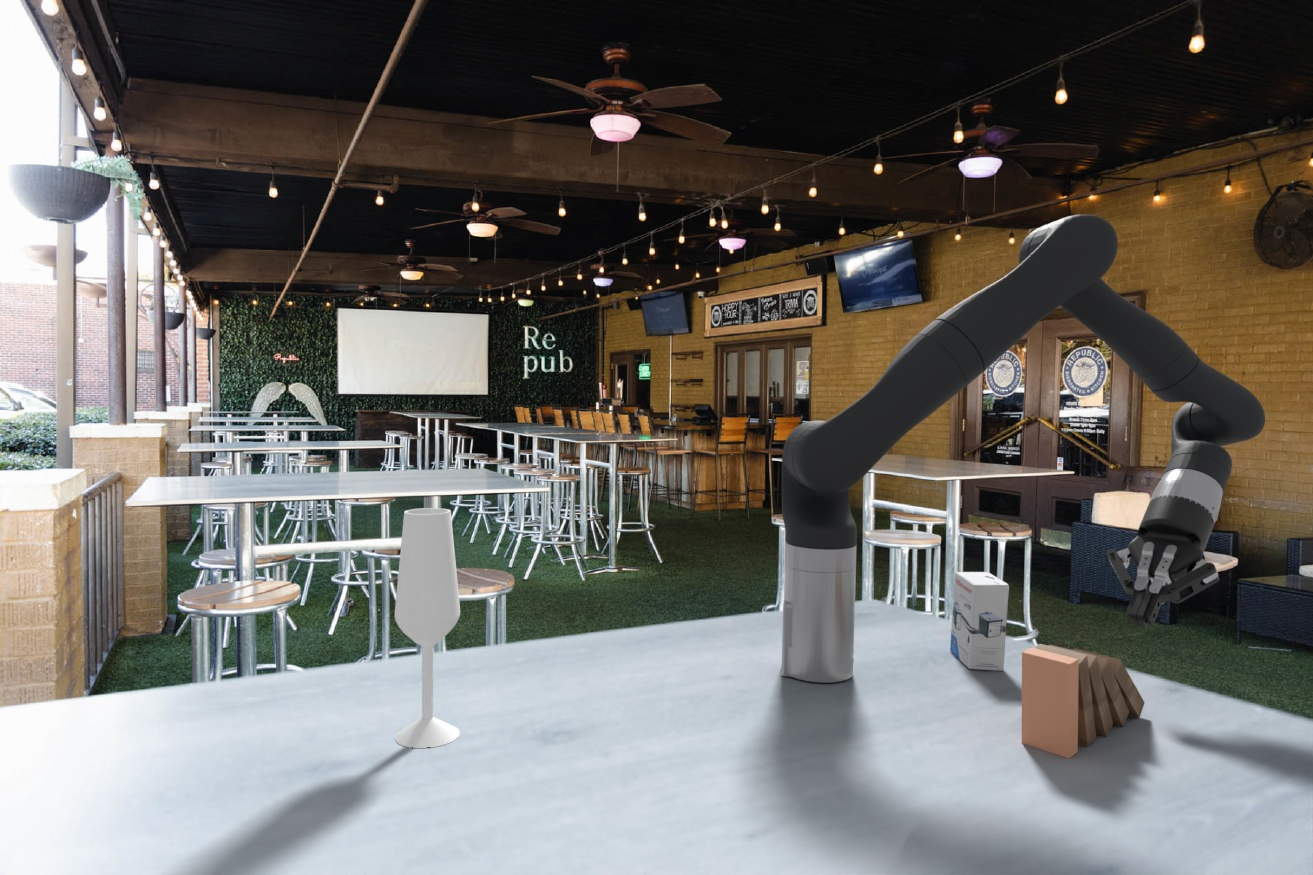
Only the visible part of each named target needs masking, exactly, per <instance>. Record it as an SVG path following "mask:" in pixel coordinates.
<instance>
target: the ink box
mask: <svg viewBox="0 0 1313 875" xmlns="http://www.w3.org/2000/svg"><path fill="white" fill-rule="evenodd" d="M953 577H954V580H953V596H952V597H953V598H952V614H951V615H952V616H951V630H950V632H951V634H950V652H951V653H953V655H954V656H955V657H957V659H958V660H960V662H962V663H963V665H965V667H966V668H968V669H969V670H981V671H982V670H983V671H1001V672H1002V671H1004V669H1005V668H1004V667H1005V653H1006V652H1005V651H1006V639H1007V637H1006V636H1007V634H1006V633H1007V621H1008V620H1007V619H1008V606H1009V593H1010V592H1009V591H1010V586H1009V583H1007V582H1005V581H1004V580H1001V579H1000V578H999V577H997V576H995V575H994V574H992V573H991V572H988V571H954V576H953Z"/></svg>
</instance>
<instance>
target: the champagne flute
mask: <svg viewBox="0 0 1313 875" xmlns="http://www.w3.org/2000/svg"><path fill="white" fill-rule="evenodd" d="M452 518H453V517H452V510H451V509H447V508H441V507H440V508H438V507H429V508H428V507H426V508H425V507H424V508H423V507H422V508H412V509H407V510H404V512H403V522H402V532H401V543H400V553H399V563H398V564H399V565H398V573H397V583H396V584H397V585H396V596H395V607H394V620H395V623H396V625H397V626H398V627H399V629H400V630H401V631H402V633H404V634H405V635H406V637H408V638H409V639H410V640H412V641H413V642H414V643H415V644H417V645H419V646H421V717H420V718H419V719H418V720H415V721H414V722H413V723H412V724H410V725H408V726H407V727H405V728H403V729H402V730H400V731H399V732H398V733H396V735H395V737H394V739H395V742H396V743H397V744H399V745H400V746H403V747H406V748H410V749H411V748H412V747H413V748H412V749H428V748H427V747H431V748H437V747H442V746H444V745H447V744H449V743H451V742H454V741H455V740H457V739H458V738H459V736H460V733H461V732H460V729H459V728H458V727H456V726H454V725H452V724H450V723H448V722H446V721H444V720H441V719H439V718H437V717H435V716H434V646H435V645H437V644H438V643H440V642H441V641H442V640H443V639H444V638H445V637H446V636H447V635H448V634H449V633H450V632H451V631H452V630H453V629H454V627H455V625H456V624H457V622H458V620H459V619H460V617H461V605H460V596H459V594H460V593H459V585H458V573H457V563H456V553H455V552H456V551H455V543H454V539H455V538H454V531H453V529H454V528H453V521H452Z"/></svg>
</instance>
